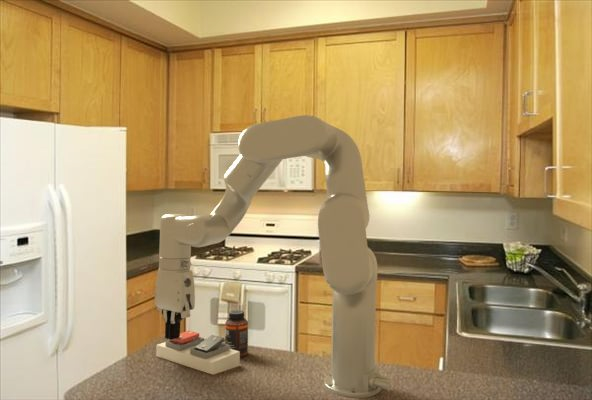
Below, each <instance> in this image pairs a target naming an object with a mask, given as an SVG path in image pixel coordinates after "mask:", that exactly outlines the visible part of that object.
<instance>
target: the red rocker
mask: <svg viewBox="0 0 592 400" xmlns="http://www.w3.org/2000/svg"><path fill="white" fill-rule="evenodd" d="M196 337H200V333H199V332H195V331H191V330H187V331H184V332H180V337H178V338H175V339H172V341H175V342H178V343H184V344H186V343H189V342H192V341H193V339H194V338H196Z"/></svg>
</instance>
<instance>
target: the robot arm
mask: <svg viewBox="0 0 592 400" xmlns="http://www.w3.org/2000/svg"><path fill="white" fill-rule="evenodd" d="M237 148H238V151H239V155H238V157H237V158H236V159H235V160H234V161H233V163H232V165H231V166H230V167H229V168H228V169H227V170H226V172H225V174H224V175H223V182H224V184H225V191H224V195H223V196H222V198H221V200H220V201H219V203H218V204H217V205H216V207H215V208H214V209H213V211H212V212H210V214H201V215H200V214H198V215H192V216H190V215H188V214H184V213H180V214H179V213H167V214H163V215H162V216H161V218H160V221H159V222H160V224H159V225H160V226H159V249H158V250H159V251H158V252H159V254H158V255H159V256H158V270H157V272H156V273H157V274H156V281H155V288H154V304H155V306H156V310H157V311H159V312H160V313H161V314H162V316H163V321H164V323H165V325H164V326H165V329H164V332H165V333H164V338H165V339H168V341H169V340H172V339H175V338H178V337H180V333H181V322H183V319H187V318H190V317H191V312H190V311H191V310H192V311H193V310H194V309H195V303H196V302H195V301H196V299H195V298H196V295H195V293H196V290H195V280H194V274H193V270H192V269H191V267H192V262H191V258H192V257H191V254H192V247H193V248H202V247H207V246H210V245H215V244H220V243H221V242H224V241H225V240H226V239H227V238H228V237H229V236H230V235H231V234H232V233H233V231H234V230H235V229H236V228H237V226H238V225H239V224H240V222H241V221H242V220H243V219H244V218H245V216H246V214H247V212H248V210H249V208H250V206H251V203H252V200H253V198H254V197H255V195H256V194H257V192H258V191H259V190H260V189H261V188H262V186H263V185H264V184H265V182H266V181H267V179H268V178H269V177H270V176H271V175H272V174H273V173H274V171H275V170H276V169H277V168H278V166H279V165H280V164H281V162H282V161H283V160H286V159H293V158H299V157H307V158H311V159H315V160H316V159H317V160H319V161H321V162H322V163H323V165H324V180H325V187H326V197H327V198H326V200H325V201H324V202H323V204H322V205H321V207H320V210H319V211H318V218H317V219H318V220H317V226H318V228H317V229H318V236H319V237H318V238H319V244H320V245H319V246H320V248H319V249H320V253H321V254H320V255H321V265H322V271H323V276H324V279H325V282H326V283H327V285H328V286H329V288H331V290H332V297H331V298H332V299H331V300H332V303H331V357H330V358H331V360H330V362H331V366H330V373H329V374H327V375H326V376H325V377H324V378H323V386H324V388H325V389H326V390H327V391H328V392H330V393H333V394H335V395H338V396H343V397H347V398H356V399H358V398H359V399H362V398H370V397H374V396H376V395H378V394H379V393H380V392H381V391H382V390H385V391H391V389H392V381H391V377H389V376H385V375H381V373H380V367H379V366H376V365H375V364H376V363H375V361H376V359H375V358H376V316H377V315H376V313H377V312H376V311H377V308H376V307H377V287H378V285H377V284H378V261H377V257H376V255H375V254H374V252H373V250H372V249H371V248H370V247H368V239H367V230H366V229H367V228H368V225H369V223H370V211H369V206H368V205H369V204H368V197H367V190H366V183H365V182H366V181H365V176H364V171H363V163H362V157H361V153H360V150H359V148H358V146H357V143H356V141H355V140H354V139H353V138H352V137H351V135H349V134H348V133H346V132H345V131H344V130H342V129H340V128H338V127H336V126H333V125H332V124H330V123H327V122H325V121H324V120H322V119H321V118H319V117H317V116H314V115H309V114H307V115H306V114H305V115H302V114H301V115H295V116H291V117H285V118H280V119H274V120H270V121H264V122H258V123H254V124H251V125H249V126H248V127H246V128H245V129H244V130H243V131H242V132H241V133H240V135H239V138H238V144H237Z"/></svg>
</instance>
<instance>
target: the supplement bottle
mask: <svg viewBox="0 0 592 400" xmlns="http://www.w3.org/2000/svg"><path fill="white" fill-rule="evenodd" d="M248 326H249V323H248V320H247V319H246V318H245V311H244V310H241V309H233V310H229V312H228V319H226V321H225V329H224V331H225V332H224V333H225V335H224V337H225V338H224V344H228V345H230V349H232V350H236V351H240V358H243V357H245V356H247V355H248V353H249V327H248Z"/></svg>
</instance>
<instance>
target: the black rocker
mask: <svg viewBox="0 0 592 400" xmlns="http://www.w3.org/2000/svg"><path fill="white" fill-rule="evenodd" d="M221 343H225V338H224V337H222V336H219V335H214V334H211V335H210V336H208V337H206V338H205V339H204V341H203V342H201V343H200V344H199V345H197V346H196V347H195V350H198V351H201V352H205V353H208V352H210V351H213V350H216V349H219V345H220V344H221Z"/></svg>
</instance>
